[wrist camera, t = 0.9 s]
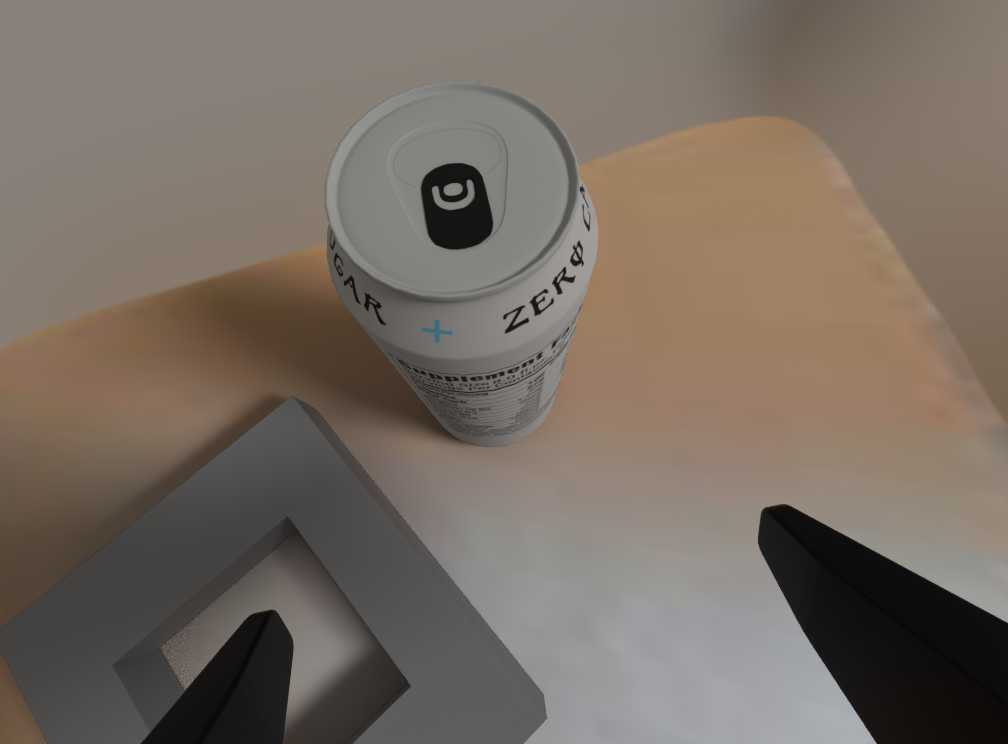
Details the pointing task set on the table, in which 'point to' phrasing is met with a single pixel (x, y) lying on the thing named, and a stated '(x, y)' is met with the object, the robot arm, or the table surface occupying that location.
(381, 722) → the socket block
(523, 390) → the energy drink can
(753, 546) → the table surface
